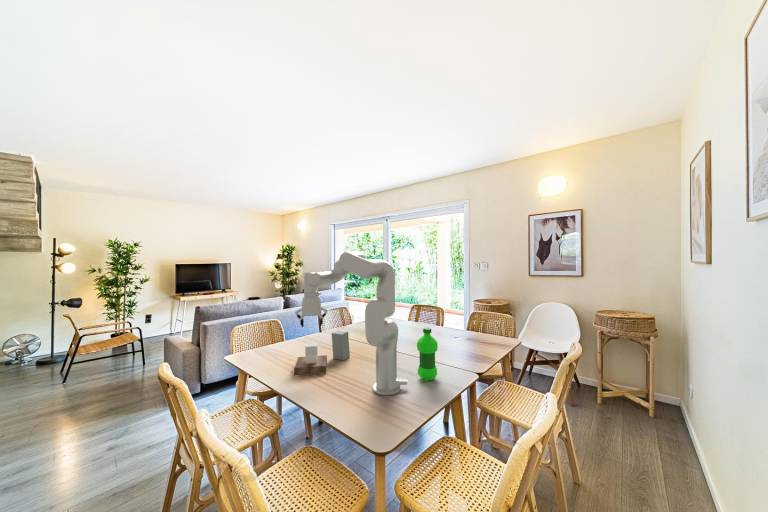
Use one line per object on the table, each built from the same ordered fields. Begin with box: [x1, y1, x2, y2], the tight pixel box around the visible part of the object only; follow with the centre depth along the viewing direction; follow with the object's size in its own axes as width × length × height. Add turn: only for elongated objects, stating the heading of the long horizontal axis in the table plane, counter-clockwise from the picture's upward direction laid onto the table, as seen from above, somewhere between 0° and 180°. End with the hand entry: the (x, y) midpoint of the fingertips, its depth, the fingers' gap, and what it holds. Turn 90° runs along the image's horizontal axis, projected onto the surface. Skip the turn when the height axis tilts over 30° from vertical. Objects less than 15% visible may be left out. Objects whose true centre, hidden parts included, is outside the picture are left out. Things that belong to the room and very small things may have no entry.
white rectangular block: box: [304, 342, 319, 364], centre depth 153 cm, size 6×6×9 cm
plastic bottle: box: [416, 327, 439, 382], centre depth 140 cm, size 10×10×25 cm
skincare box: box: [331, 330, 351, 361], centre depth 169 cm, size 8×7×16 cm
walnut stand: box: [293, 354, 328, 376], centre depth 153 cm, size 16×16×4 cm
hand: (311, 326), depth 153 cm, fingers open, 9 cm apart
